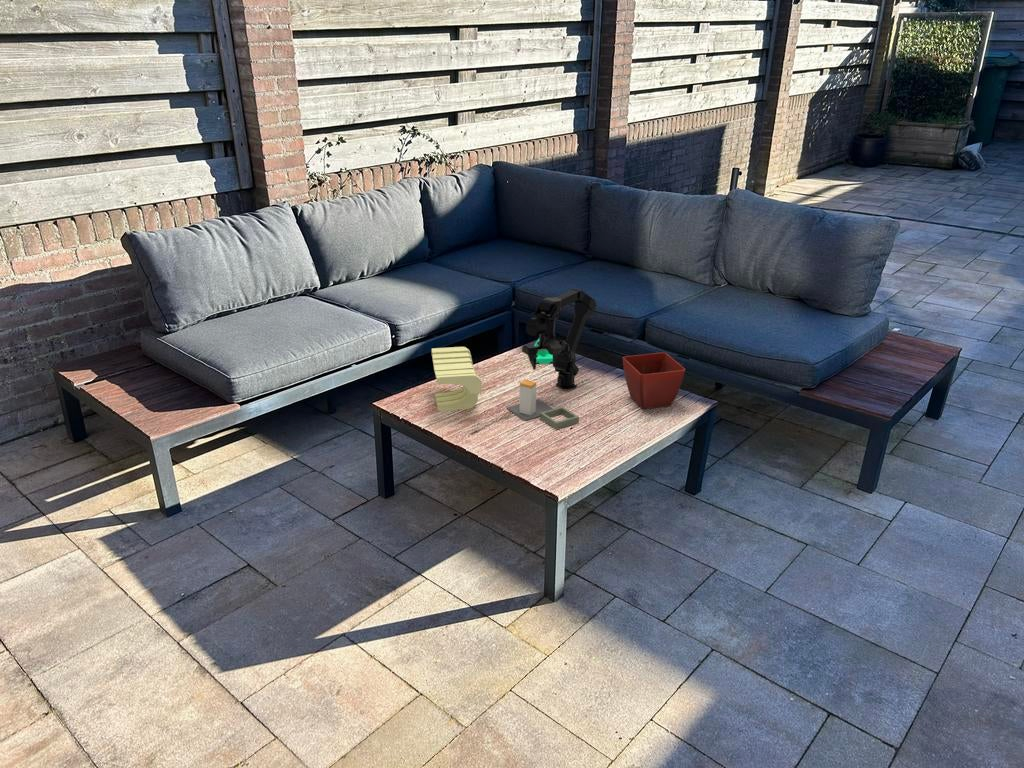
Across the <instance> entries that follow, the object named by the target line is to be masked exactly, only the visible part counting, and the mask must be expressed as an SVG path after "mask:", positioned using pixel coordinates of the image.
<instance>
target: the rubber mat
mask: <svg viewBox="0 0 1024 768" xmlns="http://www.w3.org/2000/svg"><path fill="white" fill-rule="evenodd" d="M519 405H520V403H518V404H515V405H514V404H513V405H511V406H507V407H506V410H507V411H510V413H512V414H514V415H515V416H516V417H518V418H519V419H521V420H522V421H524V422H528V421H531V420H534V419H538V418H540V413H541V412H545V411H549V410H552V409H554V408H553V407H552V406H550V405H548V404H547V403H545V402H544V401H542V400H540V398H536V412H535V413H533V414H532V415H527V414H523V413H520V412H519Z"/></svg>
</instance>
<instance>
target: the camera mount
mask: <svg viewBox="0 0 1024 768" xmlns="http://www.w3.org/2000/svg"><path fill="white" fill-rule="evenodd" d="M537 342H539V338H538V339H537V340H536V342H535V343H534V344H533V345H534V346H539V345H538V344H537ZM536 355H538V357H537V358H536V363H538V364H539V365H550V364H551V363H553V355H551V354H549V352H548V351H547V350H544V351H538V353H537V354H536Z"/></svg>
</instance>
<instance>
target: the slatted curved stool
mask: <svg viewBox="0 0 1024 768" xmlns="http://www.w3.org/2000/svg"><path fill="white" fill-rule="evenodd" d="M431 357H432V364H433V371H434V375H435V379H436V383H437V384H438V385H458V386H462V387H461V388H459V389H457V390H455V391H454V390H453V391H448V392H441V393H440V392H439V393H434V400H435V403H436V404H435V405H436V409H437V411H439V412H441V411H443V412H444V411H455V410H468V409H472V408H475V406H476V405H477V403H478V400H479V394H482V380H481V378H480V377H479V375H477V374H476V370H475V368H474V363H473V358H472V354H471V351H470V349H469V348H467V347H466V346H453V347H435V348H431Z"/></svg>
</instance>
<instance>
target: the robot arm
mask: <svg viewBox="0 0 1024 768" xmlns="http://www.w3.org/2000/svg"><path fill="white" fill-rule="evenodd" d="M571 304H574V306H573V312H574V318H573V321H572V324H571V327H570V329H569V331H568V334H567V338H566V341H565V340H557V334H555V329H556V327H555V326H556V320H558V319H559V318H560V317H559V316H558V314H559V313H561V312H562V311H561V310H562V308H565V307H567V306H570V305H571ZM596 309H597V302H596V299H595V298H593V297H591V296H590V295H588V294H587V293H586V292H585V291H584V290H582V289H578V288H572V289H570V290H569V291H566V292H564V293H563V294H560V295H557V296H555V297H544V298H542V299H540V301H539V302H538V305H537V307H536V309H535V311H534V314H533V317H531V318H530V320H529V321H528V322H527V323H526V325H525V331H526V333H527V334H528V335H529V336H531V337H534V336H537V335H538V336H539V337H538V339H539V342H537V341H536V342H537V344H538V345H539V346H534V345H535V344H532V343H530V344H524V345H523V346H522V348H521V352H522V353H524V354H526V355H527V357H528V359H529V362H530V364H531V367H532V369H533V370H536V369H537V368H536V367H537V362H536V358H537V357H538V355H536V354H537V353H538V351H544V350H547V351H548V352H549V354H551V355H553V362H552V367H553V368H554V371H555V372H557V373H558V374H557V382H556V383H555V385H556V387H559V389H560V388H561V389H562V390H564V391H566V390H570V389H573V388H577V384H575V380H576V379H575V377H576V376H577V375H578V374H579V372H580V371H579V370H580V368H579V367H578V366H577V365H576V362H577V358H576V353H575V352H576V350H577V347H578V345H579V342H580V340H581V339H580V338H581V336H582V333H583V330H584V328H585V325H586V322H587V320H588V319H589V318H590V317H592V316H593V314H594V312H595V310H596Z"/></svg>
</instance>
